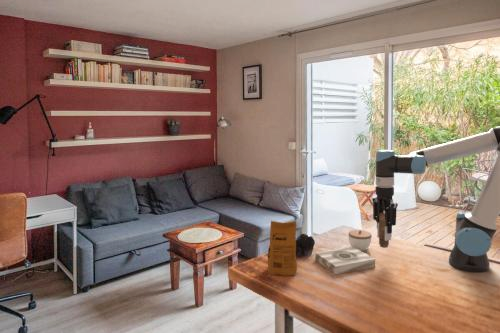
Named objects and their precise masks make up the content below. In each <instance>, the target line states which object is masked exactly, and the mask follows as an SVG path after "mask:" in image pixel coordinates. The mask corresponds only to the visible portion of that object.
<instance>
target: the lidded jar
mask: <svg viewBox="0 0 500 333" xmlns="http://www.w3.org/2000/svg"><path fill="white" fill-rule="evenodd" d="M348 242H349V245H350V247H352V246H353V247H355V248H356V249H358V250H360V251H362V252H365V251H366V250H367V249H368V248H369V247H370V245H371V242H372V233H371V232H370V231H367V230H362V229H352V230H349V231H348Z"/></svg>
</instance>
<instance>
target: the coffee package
mask: <svg viewBox="0 0 500 333" xmlns="http://www.w3.org/2000/svg"><path fill="white" fill-rule="evenodd" d="M297 226H298V225H297V221H296V220H295V221H287V222H281V221H275V220H270V231H269V232H270V233H269V234H270V235H269V236H270V238H269V246H268V249H267V250H268V251H267V273H268V274H269V275H270V276H274V275H275V276H276V275H279V276H282V277H288V276H289V277H290V276H295V275H297V272H298V262H297V261H298V260H297V257H296V239H297V238H296V234H297V233H296V231H297Z"/></svg>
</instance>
